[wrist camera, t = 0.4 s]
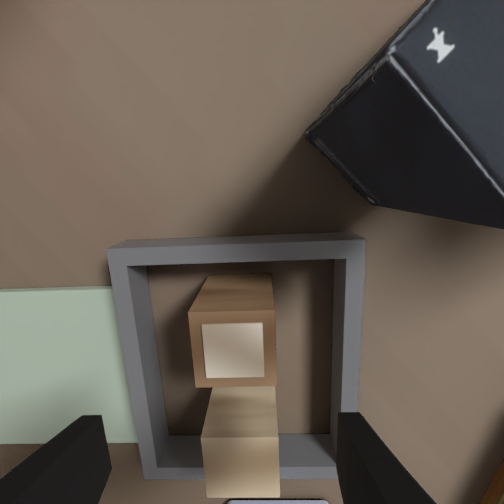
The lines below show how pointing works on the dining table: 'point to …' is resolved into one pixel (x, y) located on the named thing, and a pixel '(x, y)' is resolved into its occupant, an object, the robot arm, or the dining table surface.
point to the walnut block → (234, 332)
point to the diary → (495, 488)
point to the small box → (427, 116)
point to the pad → (61, 364)
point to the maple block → (241, 443)
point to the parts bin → (146, 355)
